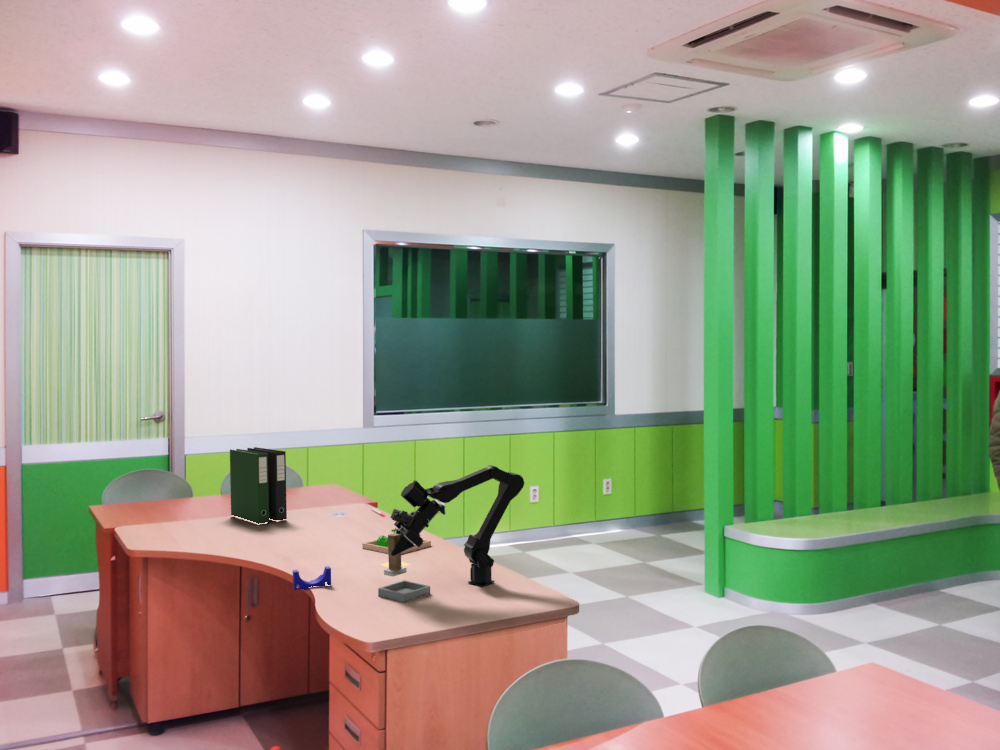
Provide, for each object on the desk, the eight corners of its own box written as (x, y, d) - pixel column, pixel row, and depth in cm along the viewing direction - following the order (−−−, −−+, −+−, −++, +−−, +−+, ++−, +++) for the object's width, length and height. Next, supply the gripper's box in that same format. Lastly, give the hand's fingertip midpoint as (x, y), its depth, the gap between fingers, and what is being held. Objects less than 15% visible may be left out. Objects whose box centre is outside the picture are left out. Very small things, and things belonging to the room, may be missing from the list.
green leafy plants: (420, 545, 340) (420, 527, 340) (400, 553, 327) (400, 535, 326) (388, 541, 347) (388, 524, 346) (367, 549, 333) (367, 532, 333)
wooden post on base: (397, 570, 275) (396, 532, 274) (406, 572, 272) (405, 533, 272) (384, 574, 270) (382, 535, 270) (392, 576, 268) (391, 537, 267)
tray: (430, 593, 271) (430, 586, 271) (404, 602, 262) (404, 594, 262) (404, 587, 278) (404, 580, 278) (378, 596, 269) (378, 588, 269)
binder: (229, 517, 399) (228, 449, 398) (258, 513, 410) (257, 446, 409) (258, 525, 380) (257, 454, 379) (288, 520, 390) (286, 451, 390)
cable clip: (328, 582, 285) (328, 565, 285) (331, 586, 281) (330, 568, 281) (292, 587, 281) (291, 569, 281) (294, 590, 277) (294, 572, 277)
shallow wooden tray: (430, 545, 337) (430, 540, 337) (396, 555, 322) (396, 550, 322) (397, 539, 349) (397, 534, 349) (362, 548, 334) (362, 543, 334)
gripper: (399, 495, 281) (367, 531, 278) (411, 504, 263) (377, 543, 260) (423, 516, 283) (391, 553, 280) (437, 527, 266) (403, 566, 263)
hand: (390, 553), depth 271 cm, fingers closed on wooden post on base, 4 cm apart
